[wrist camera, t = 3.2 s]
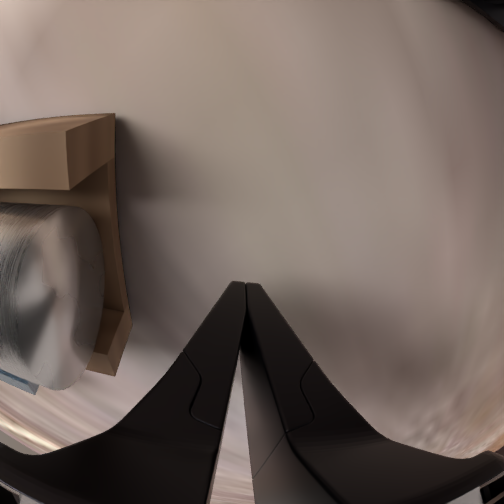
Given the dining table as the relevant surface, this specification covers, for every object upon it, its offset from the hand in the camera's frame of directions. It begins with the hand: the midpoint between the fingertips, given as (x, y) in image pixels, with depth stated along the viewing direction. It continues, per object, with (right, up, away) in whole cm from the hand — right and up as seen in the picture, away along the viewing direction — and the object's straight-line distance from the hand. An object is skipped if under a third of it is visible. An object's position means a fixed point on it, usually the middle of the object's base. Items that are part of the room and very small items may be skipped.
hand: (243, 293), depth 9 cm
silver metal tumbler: (-12, +2, 0) cm, 12 cm away
